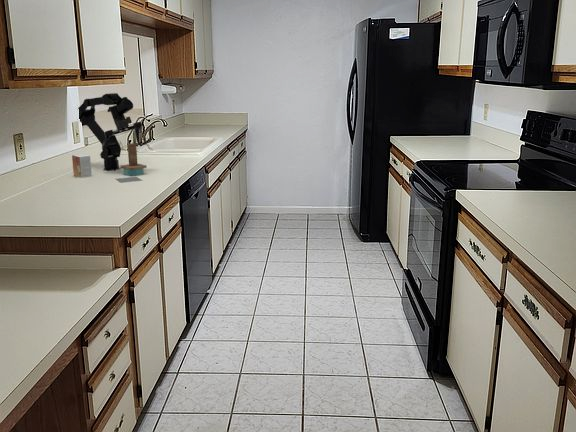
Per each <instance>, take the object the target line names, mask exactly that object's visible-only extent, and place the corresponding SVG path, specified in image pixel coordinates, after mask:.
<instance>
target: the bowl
mask: <svg viewBox="0 0 576 432" xmlns="http://www.w3.org/2000/svg"><path fill="white" fill-rule="evenodd" d="M144 171H145V169H144V168H142V169H136V170H127V169H123V176H128V177H138V176H142V175H144Z"/></svg>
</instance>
